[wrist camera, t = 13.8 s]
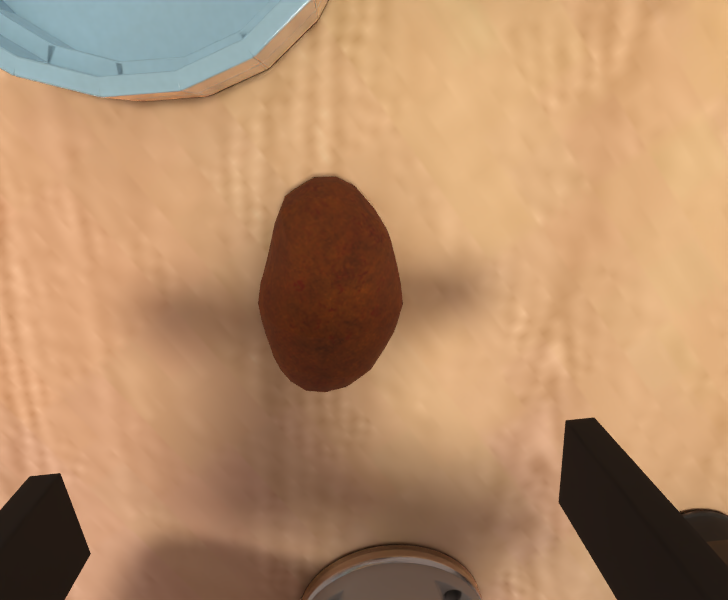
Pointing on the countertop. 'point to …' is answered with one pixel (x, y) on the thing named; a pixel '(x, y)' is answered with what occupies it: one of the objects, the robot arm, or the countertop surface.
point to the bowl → (148, 43)
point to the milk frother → (708, 524)
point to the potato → (329, 286)
